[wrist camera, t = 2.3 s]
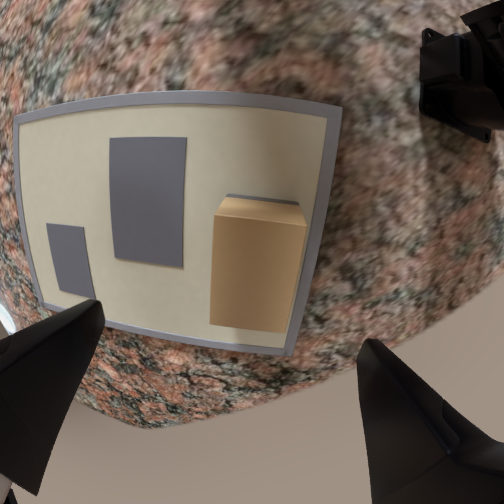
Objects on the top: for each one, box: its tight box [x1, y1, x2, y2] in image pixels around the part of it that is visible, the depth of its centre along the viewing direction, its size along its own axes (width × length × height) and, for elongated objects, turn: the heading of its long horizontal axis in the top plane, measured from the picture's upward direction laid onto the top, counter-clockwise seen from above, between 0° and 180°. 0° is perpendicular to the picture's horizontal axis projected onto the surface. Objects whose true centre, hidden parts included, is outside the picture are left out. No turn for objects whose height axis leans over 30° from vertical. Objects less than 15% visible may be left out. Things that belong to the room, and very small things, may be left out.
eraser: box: [209, 194, 308, 333], centre depth 15 cm, size 4×6×4 cm, turn 174°
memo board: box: [13, 90, 343, 357], centre depth 17 cm, size 23×17×1 cm
